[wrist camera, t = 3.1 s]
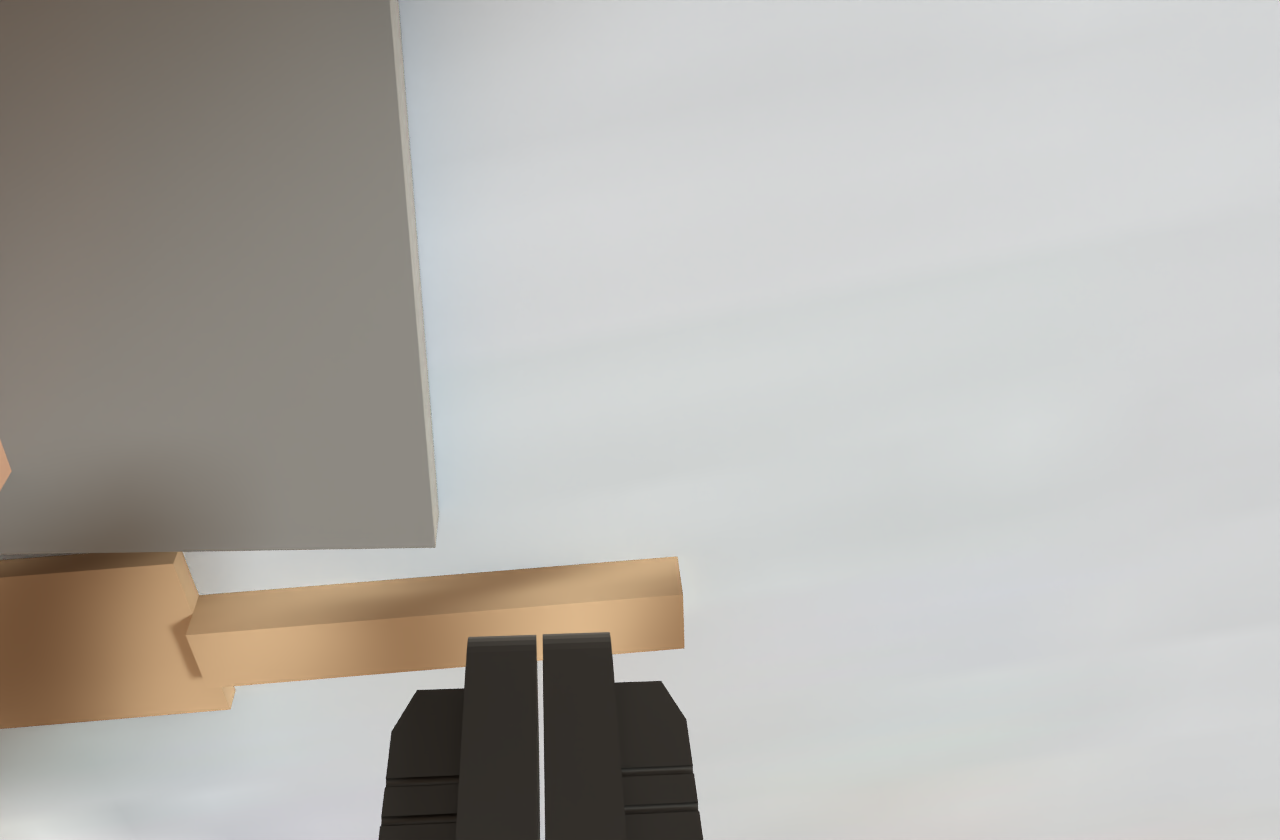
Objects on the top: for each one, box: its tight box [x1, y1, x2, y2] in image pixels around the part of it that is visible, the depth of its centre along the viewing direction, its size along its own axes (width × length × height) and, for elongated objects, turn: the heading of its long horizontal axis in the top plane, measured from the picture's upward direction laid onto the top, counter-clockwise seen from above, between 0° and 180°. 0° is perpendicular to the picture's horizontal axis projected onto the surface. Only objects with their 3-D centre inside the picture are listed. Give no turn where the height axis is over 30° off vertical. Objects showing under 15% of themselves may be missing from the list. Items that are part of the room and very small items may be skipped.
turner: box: [0, 552, 684, 729], centre depth 24 cm, size 16×4×1 cm, turn 92°
